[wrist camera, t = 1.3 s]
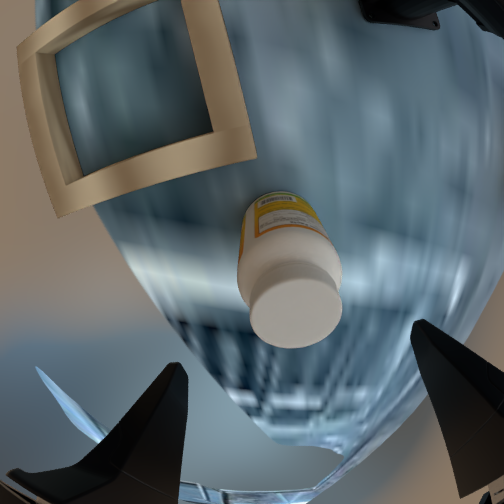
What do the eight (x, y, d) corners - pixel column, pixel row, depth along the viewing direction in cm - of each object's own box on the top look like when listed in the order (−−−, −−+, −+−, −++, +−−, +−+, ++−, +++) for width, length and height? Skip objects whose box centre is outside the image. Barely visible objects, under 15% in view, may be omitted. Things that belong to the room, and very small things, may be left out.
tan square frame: (208, -36, 11) (202, -52, 8) (256, 152, 18) (256, 158, 15) (35, 48, 12) (16, 46, 10) (74, 206, 19) (57, 218, 17)
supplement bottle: (282, 271, 22) (297, 372, 13) (226, 230, 20) (207, 324, 12) (331, 221, 20) (381, 307, 11) (275, 173, 18) (295, 236, 10)
